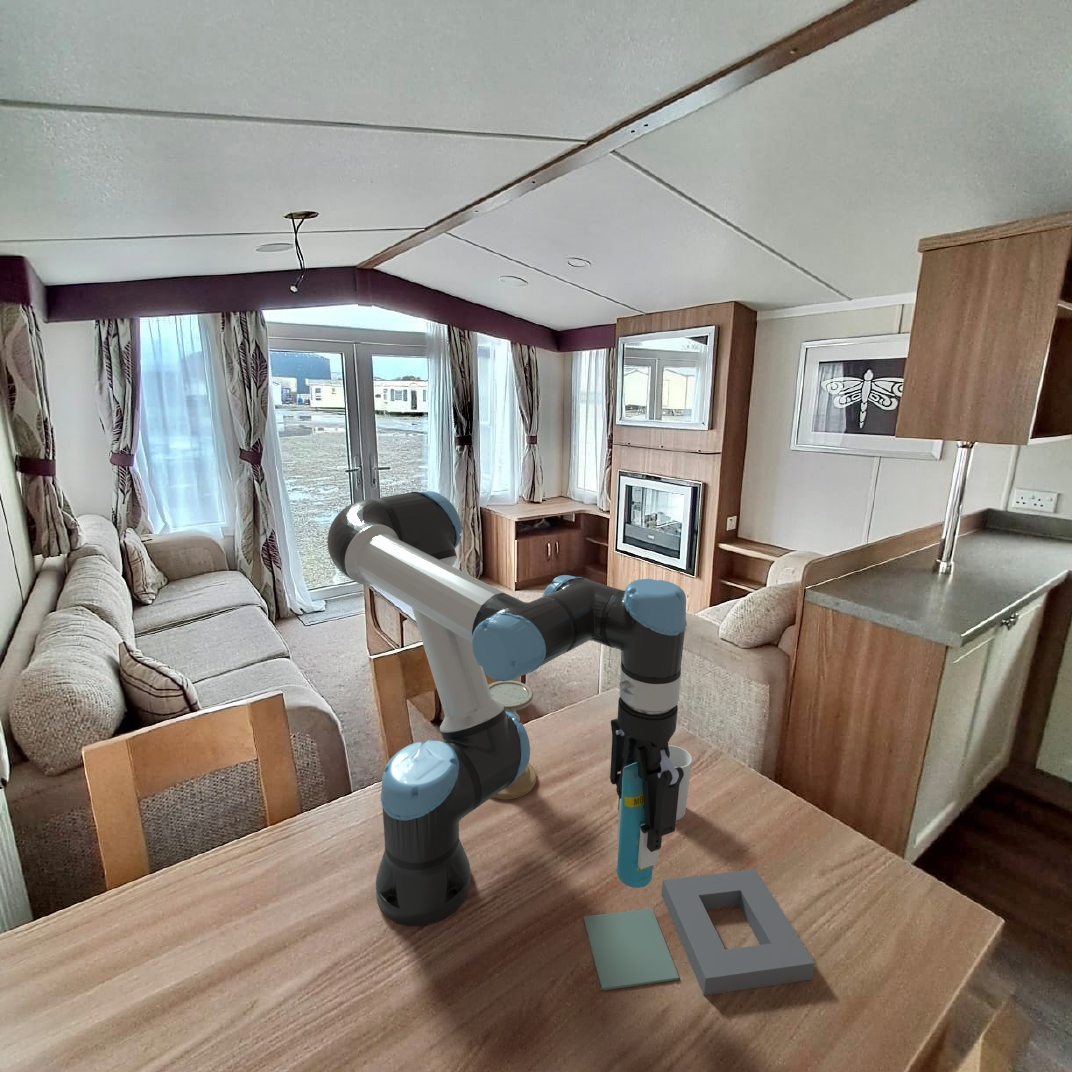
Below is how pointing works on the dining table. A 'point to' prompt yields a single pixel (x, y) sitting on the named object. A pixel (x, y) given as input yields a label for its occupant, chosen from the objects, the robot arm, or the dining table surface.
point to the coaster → (629, 949)
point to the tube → (631, 830)
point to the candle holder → (515, 699)
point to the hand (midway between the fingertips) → (636, 849)
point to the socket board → (735, 967)
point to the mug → (683, 760)
